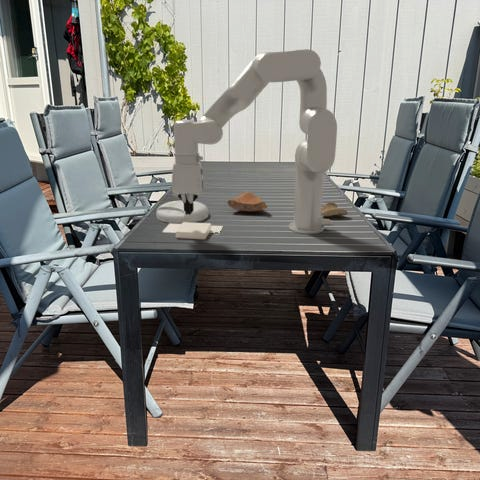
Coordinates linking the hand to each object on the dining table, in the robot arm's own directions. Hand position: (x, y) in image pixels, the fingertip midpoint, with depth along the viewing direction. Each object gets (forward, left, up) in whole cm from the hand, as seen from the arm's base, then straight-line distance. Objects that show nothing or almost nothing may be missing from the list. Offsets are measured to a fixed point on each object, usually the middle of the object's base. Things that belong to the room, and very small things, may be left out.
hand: (188, 213), depth 155 cm
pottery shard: (-52, -28, -8) cm, 60 cm away
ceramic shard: (-25, -32, -7) cm, 41 cm away
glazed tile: (-7, 0, -6) cm, 9 cm away
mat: (0, 0, -8) cm, 8 cm away
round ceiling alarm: (+8, -22, -11) cm, 26 cm away
